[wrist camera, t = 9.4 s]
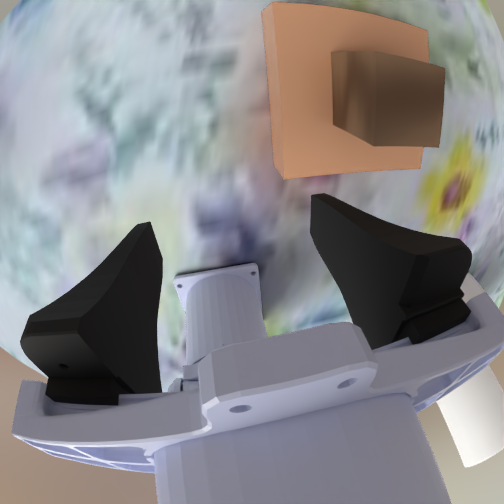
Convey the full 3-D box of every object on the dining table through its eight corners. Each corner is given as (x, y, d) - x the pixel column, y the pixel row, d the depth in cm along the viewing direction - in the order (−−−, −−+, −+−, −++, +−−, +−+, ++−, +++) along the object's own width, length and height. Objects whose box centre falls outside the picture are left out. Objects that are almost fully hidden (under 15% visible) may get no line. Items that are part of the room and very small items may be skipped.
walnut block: (392, 125, 16) (438, 147, 13) (332, 124, 16) (373, 146, 12) (394, 60, 13) (444, 68, 9) (330, 52, 13) (375, 51, 9)
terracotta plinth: (400, 156, 21) (420, 169, 19) (273, 164, 20) (284, 179, 18) (404, 30, 14) (427, 30, 12) (261, 11, 13) (271, 2, 11)
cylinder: (408, 349, 47) (461, 461, 25) (392, 319, 38) (467, 474, 16) (471, 300, 43) (534, 403, 21) (473, 254, 33) (566, 388, 11)
